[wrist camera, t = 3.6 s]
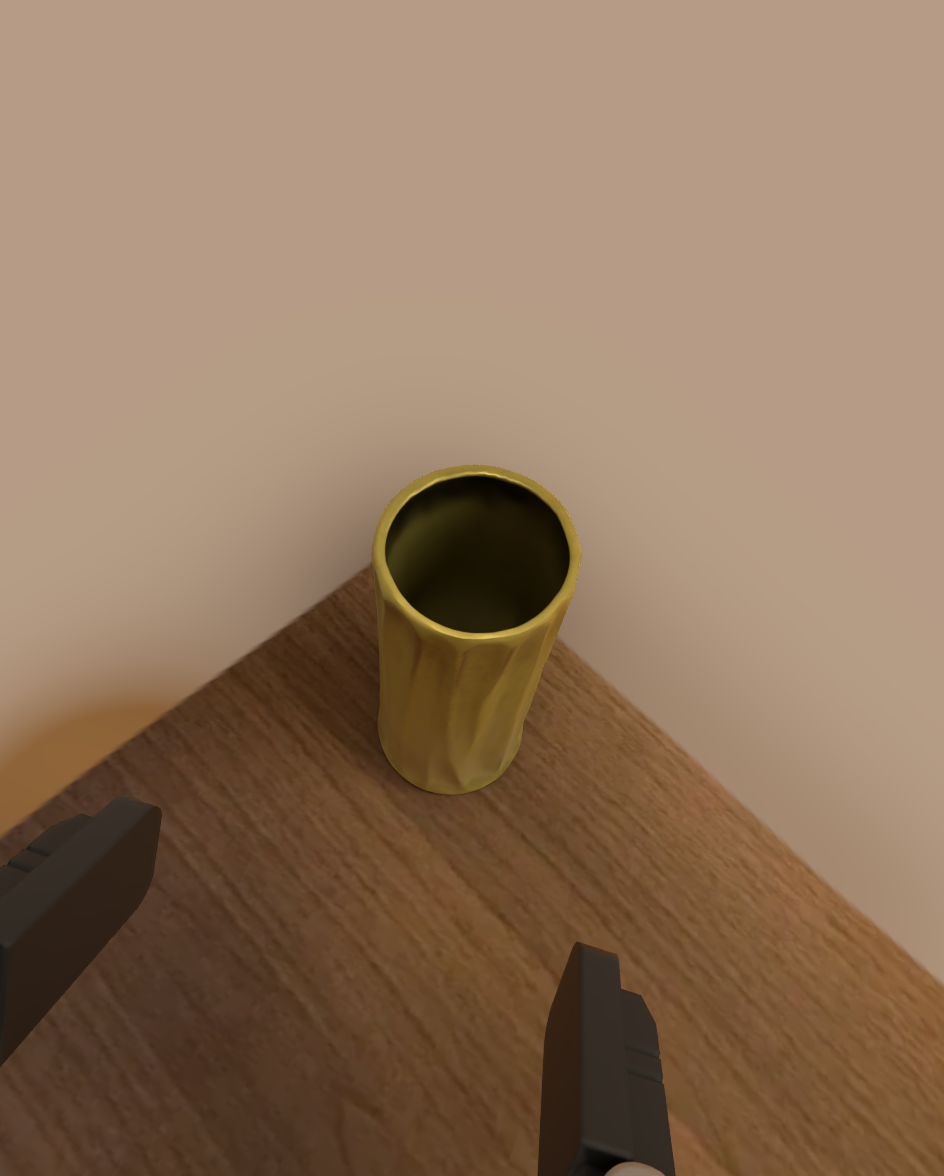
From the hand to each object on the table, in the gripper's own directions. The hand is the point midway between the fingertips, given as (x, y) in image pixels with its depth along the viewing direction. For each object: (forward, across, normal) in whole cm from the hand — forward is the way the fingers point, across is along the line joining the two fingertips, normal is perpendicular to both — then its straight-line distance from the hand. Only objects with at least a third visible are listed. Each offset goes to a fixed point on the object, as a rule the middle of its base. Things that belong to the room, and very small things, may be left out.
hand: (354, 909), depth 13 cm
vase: (+17, 0, +4) cm, 17 cm away
